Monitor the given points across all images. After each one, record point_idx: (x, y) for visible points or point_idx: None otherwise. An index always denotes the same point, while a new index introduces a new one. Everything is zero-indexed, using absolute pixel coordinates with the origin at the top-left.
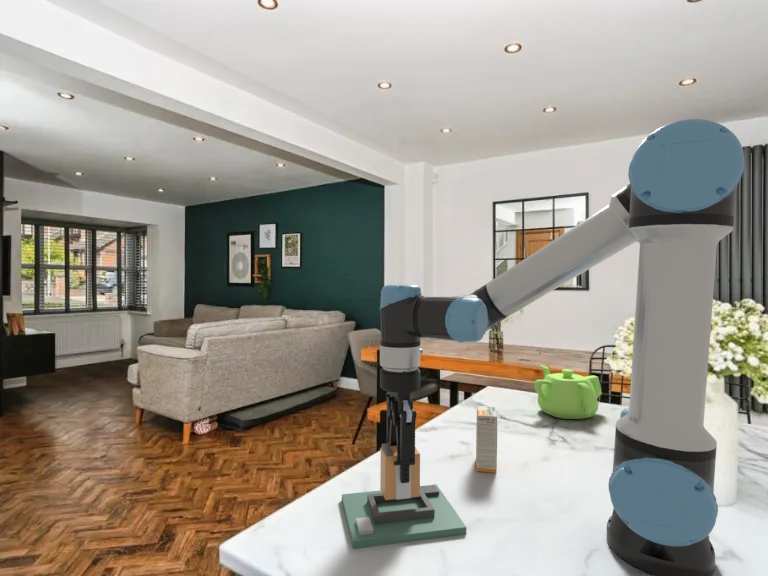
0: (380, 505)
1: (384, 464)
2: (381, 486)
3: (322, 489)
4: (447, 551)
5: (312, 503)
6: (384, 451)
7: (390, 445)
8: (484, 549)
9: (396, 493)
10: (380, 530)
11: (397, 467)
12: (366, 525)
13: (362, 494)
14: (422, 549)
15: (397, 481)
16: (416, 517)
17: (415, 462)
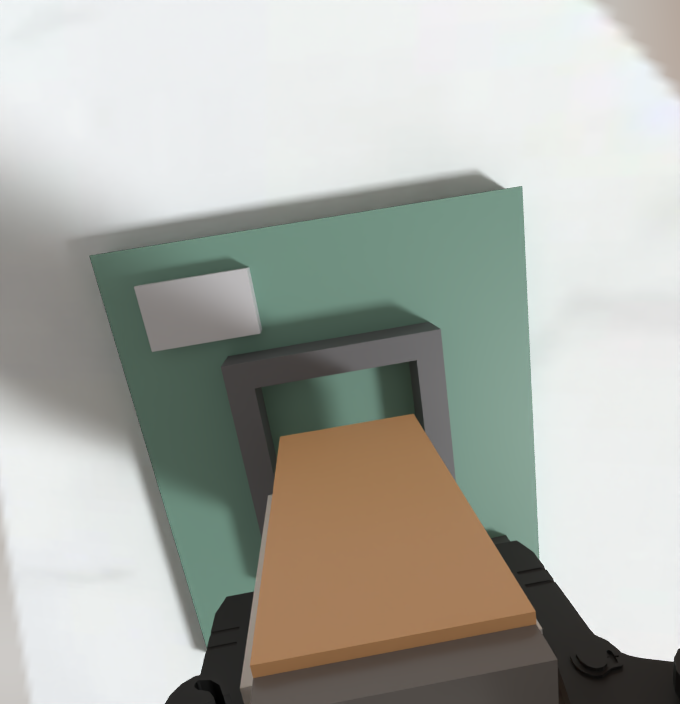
0: (391, 383)
1: (302, 569)
2: (388, 429)
3: (639, 73)
4: (114, 591)
5: (499, 22)
6: (384, 658)
7: (568, 699)
8: (133, 692)
9: (267, 515)
10: (181, 378)
11: (244, 664)
12: (182, 320)
13: (504, 298)
14: (119, 515)
15: (258, 572)
16: None
17: None
